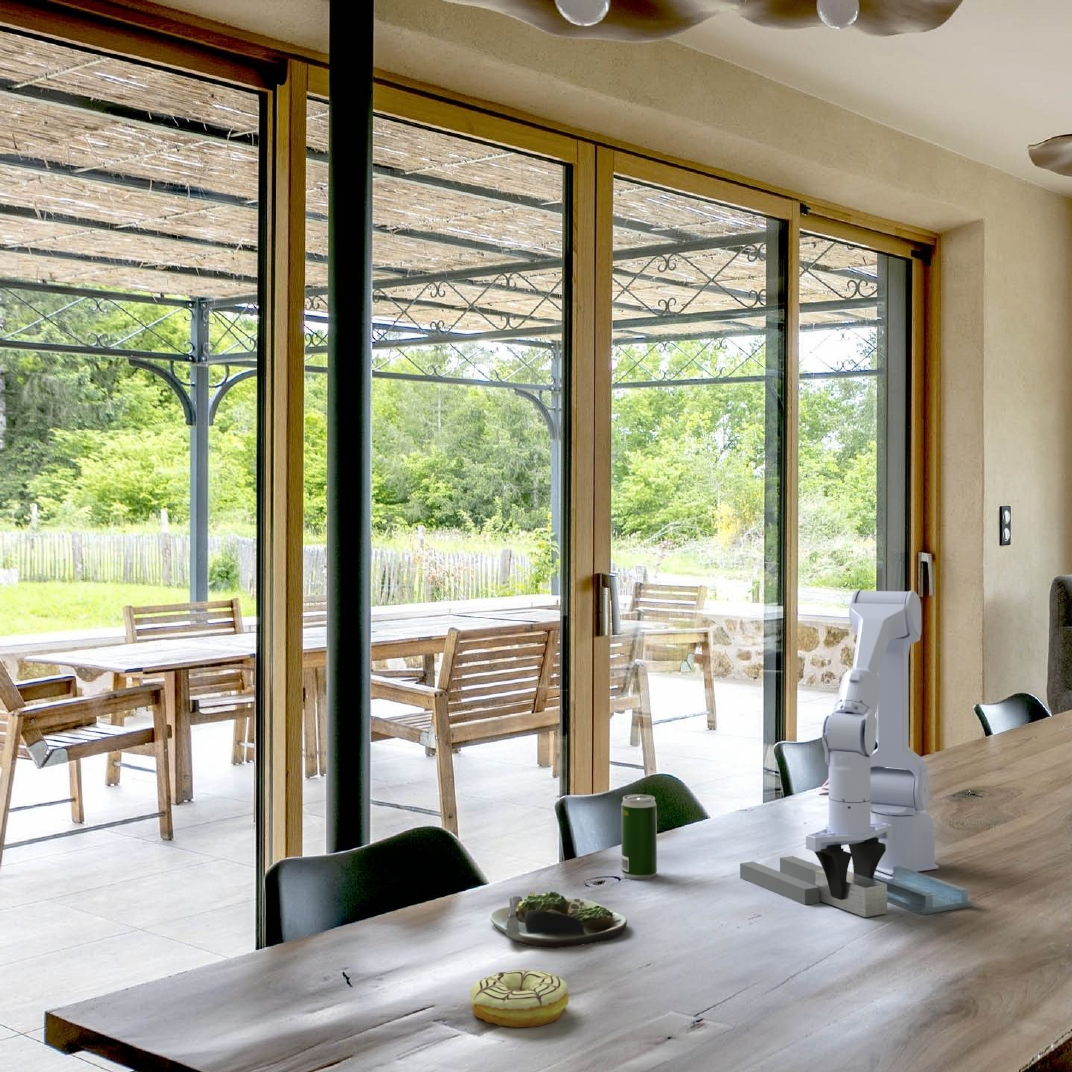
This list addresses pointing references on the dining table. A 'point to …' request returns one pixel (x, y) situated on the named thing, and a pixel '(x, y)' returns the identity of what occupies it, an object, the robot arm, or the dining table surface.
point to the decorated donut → (519, 998)
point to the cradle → (923, 892)
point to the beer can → (639, 836)
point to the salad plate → (557, 921)
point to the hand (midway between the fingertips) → (850, 895)
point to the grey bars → (786, 878)
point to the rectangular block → (856, 894)
